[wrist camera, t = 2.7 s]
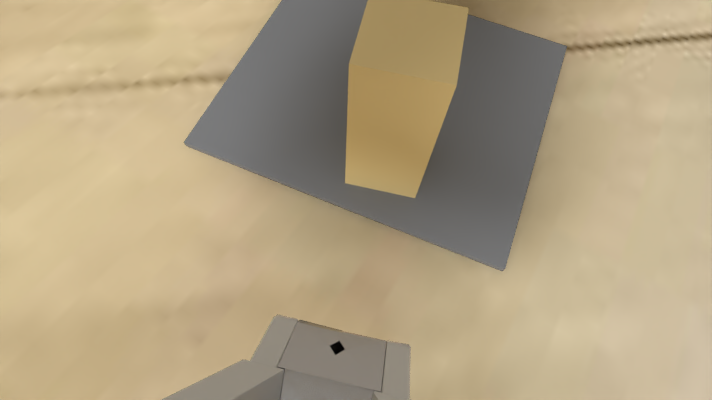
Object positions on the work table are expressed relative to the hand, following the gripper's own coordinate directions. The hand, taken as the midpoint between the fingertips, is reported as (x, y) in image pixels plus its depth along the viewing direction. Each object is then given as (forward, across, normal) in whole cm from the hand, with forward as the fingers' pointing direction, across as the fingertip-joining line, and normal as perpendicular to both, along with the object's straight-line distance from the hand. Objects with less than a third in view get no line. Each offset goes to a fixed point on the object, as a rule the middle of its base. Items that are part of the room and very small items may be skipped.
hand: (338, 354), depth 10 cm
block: (+23, 0, +1) cm, 23 cm away
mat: (+28, +1, -3) cm, 28 cm away
